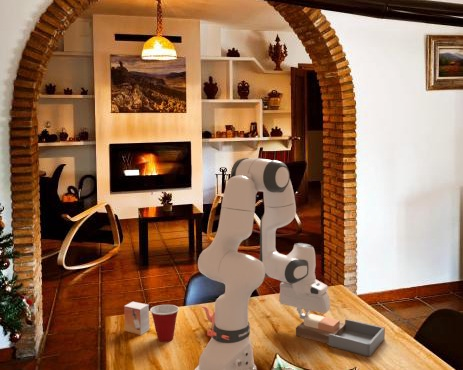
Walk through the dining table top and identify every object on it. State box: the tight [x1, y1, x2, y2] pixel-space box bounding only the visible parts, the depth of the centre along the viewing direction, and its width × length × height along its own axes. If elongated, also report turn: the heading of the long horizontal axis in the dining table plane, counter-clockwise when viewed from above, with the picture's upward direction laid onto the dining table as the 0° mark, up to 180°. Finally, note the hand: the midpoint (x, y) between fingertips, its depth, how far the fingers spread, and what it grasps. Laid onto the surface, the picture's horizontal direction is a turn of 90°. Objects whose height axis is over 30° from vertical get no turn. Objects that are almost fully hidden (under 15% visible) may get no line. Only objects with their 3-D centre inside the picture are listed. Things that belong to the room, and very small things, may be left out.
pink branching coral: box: [200, 305, 215, 331], centre depth 193 cm, size 12×18×10 cm, turn 81°
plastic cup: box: [149, 304, 180, 343], centre depth 186 cm, size 11×11×12 cm
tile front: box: [318, 316, 341, 332], centre depth 186 cm, size 6×6×2 cm
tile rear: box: [303, 313, 325, 329], centre depth 189 cm, size 6×6×2 cm
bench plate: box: [295, 321, 346, 345], centre depth 188 cm, size 13×14×3 cm
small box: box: [123, 301, 151, 336], centre depth 193 cm, size 8×6×10 cm
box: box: [328, 318, 386, 358], centre depth 180 cm, size 16×15×4 cm
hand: (303, 318), depth 192 cm, fingers closed
